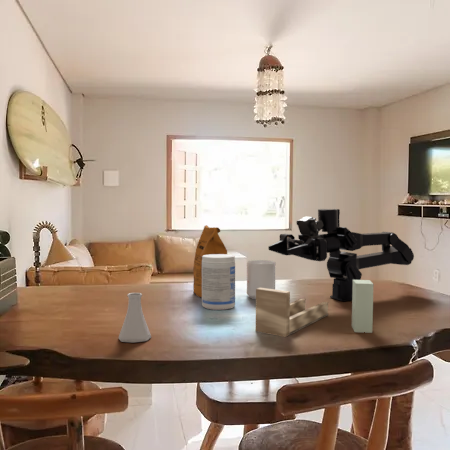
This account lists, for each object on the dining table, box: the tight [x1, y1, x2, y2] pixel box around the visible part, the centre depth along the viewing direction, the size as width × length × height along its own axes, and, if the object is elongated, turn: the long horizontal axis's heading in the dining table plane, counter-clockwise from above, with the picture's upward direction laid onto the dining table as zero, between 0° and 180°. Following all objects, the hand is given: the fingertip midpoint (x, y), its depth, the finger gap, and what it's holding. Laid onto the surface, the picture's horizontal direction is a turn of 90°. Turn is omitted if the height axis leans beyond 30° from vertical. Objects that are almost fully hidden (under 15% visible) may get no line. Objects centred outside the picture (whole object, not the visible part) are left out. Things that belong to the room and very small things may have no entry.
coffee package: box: [192, 225, 228, 298], centre depth 150 cm, size 10×12×22 cm
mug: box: [246, 259, 277, 300], centre depth 149 cm, size 12×9×11 cm
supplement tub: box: [201, 253, 236, 311], centre depth 134 cm, size 10×10×15 cm
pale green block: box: [351, 279, 374, 334], centre depth 112 cm, size 5×4×12 cm
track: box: [255, 288, 329, 338], centre depth 117 cm, size 24×8×10 cm, turn 145°
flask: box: [118, 292, 152, 344], centre depth 104 cm, size 7×7×10 cm
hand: (278, 249), depth 132 cm, fingers open, 9 cm apart
